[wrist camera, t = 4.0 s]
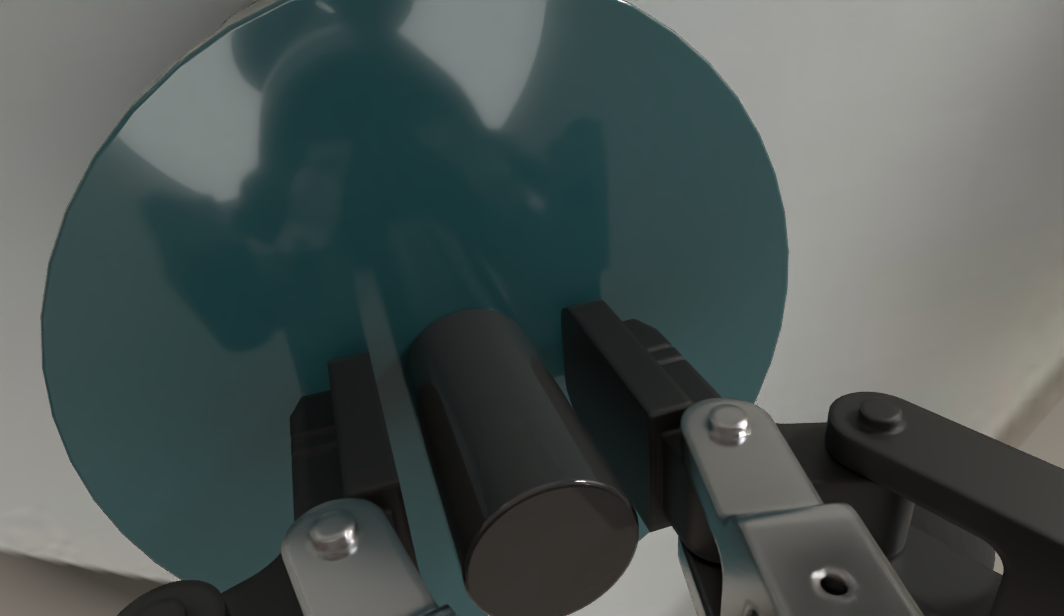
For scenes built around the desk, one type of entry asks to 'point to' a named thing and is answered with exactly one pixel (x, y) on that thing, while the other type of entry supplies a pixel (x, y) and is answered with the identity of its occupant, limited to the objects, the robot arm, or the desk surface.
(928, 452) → the robot arm
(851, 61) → the desk surface
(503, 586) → the pot lid
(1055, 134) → the desk surface
